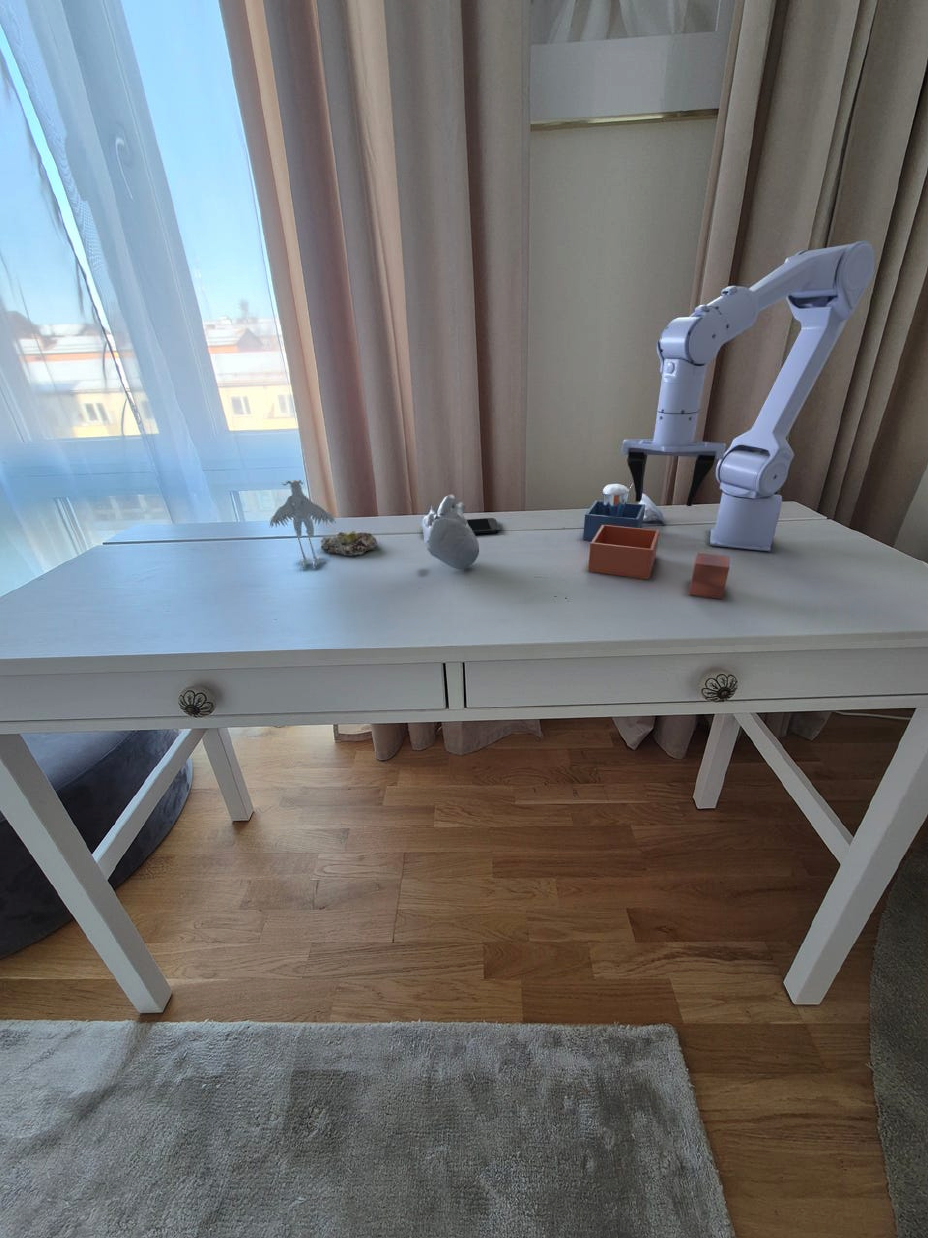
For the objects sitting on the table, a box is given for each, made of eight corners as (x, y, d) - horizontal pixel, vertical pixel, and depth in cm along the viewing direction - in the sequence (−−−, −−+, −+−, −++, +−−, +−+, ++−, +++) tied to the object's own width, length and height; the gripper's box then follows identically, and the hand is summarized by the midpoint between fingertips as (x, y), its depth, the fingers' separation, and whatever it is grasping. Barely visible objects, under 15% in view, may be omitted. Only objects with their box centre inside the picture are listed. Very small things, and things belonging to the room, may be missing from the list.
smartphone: (500, 532, 100) (500, 528, 99) (425, 538, 99) (424, 533, 98) (495, 521, 106) (495, 517, 106) (424, 526, 105) (423, 521, 105)
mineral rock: (380, 527, 98) (371, 530, 91) (382, 550, 99) (373, 554, 92) (326, 531, 99) (312, 534, 91) (329, 553, 100) (316, 558, 92)
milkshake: (629, 536, 94) (635, 483, 89) (599, 535, 95) (604, 482, 90) (627, 528, 98) (633, 476, 93) (598, 527, 99) (603, 476, 94)
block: (722, 586, 76) (729, 555, 73) (721, 599, 72) (729, 567, 70) (690, 582, 77) (696, 552, 75) (688, 594, 74) (695, 563, 71)
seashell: (636, 537, 105) (620, 502, 106) (660, 526, 105) (644, 492, 106) (643, 528, 98) (626, 491, 98) (670, 517, 97) (652, 480, 98)
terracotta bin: (655, 557, 86) (659, 530, 84) (648, 579, 79) (653, 550, 77) (599, 550, 90) (602, 524, 88) (587, 571, 83) (590, 543, 80)
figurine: (344, 558, 92) (330, 475, 84) (341, 567, 88) (326, 481, 81) (281, 562, 91) (261, 479, 84) (275, 571, 87) (255, 485, 80)
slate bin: (642, 528, 99) (645, 504, 96) (635, 545, 91) (638, 519, 89) (593, 523, 102) (595, 500, 100) (582, 539, 95) (584, 514, 93)
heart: (408, 571, 84) (414, 502, 78) (429, 550, 92) (436, 486, 86) (465, 586, 82) (476, 518, 76) (482, 564, 90) (492, 499, 84)
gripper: (622, 414, 74) (612, 505, 80) (732, 416, 68) (712, 513, 75) (630, 407, 79) (620, 493, 86) (732, 409, 74) (713, 500, 80)
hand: (663, 502), depth 81 cm, fingers open, 7 cm apart
